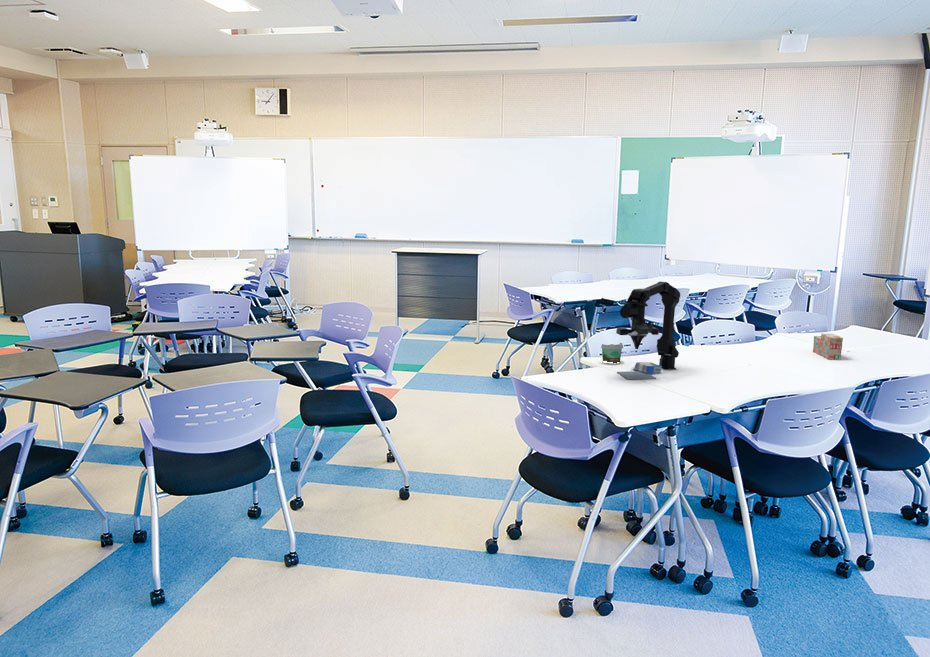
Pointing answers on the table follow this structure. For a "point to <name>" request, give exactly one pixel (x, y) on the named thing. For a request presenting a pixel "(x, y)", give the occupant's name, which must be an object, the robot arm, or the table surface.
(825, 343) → the printed cardboard box
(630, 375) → the mat
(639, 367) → the label tape cartridge
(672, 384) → the table surface
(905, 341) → the table surface
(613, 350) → the food container
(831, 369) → the table surface
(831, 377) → the table surface
